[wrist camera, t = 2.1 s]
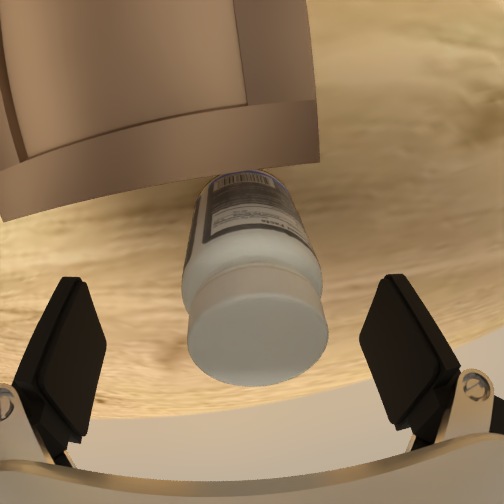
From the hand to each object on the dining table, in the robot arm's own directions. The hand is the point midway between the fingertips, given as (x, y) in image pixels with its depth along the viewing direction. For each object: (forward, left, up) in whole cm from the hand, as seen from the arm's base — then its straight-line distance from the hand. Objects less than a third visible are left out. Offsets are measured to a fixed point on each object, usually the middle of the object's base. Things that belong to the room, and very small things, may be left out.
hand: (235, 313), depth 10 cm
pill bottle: (-1, 0, -7) cm, 7 cm away
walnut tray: (+4, -9, -7) cm, 12 cm away
